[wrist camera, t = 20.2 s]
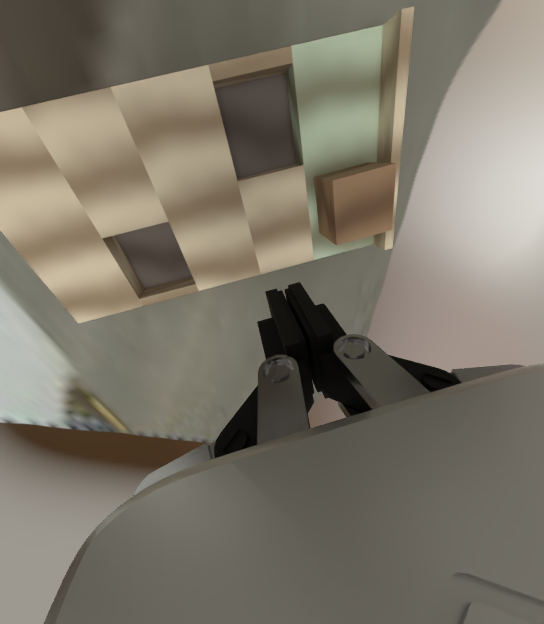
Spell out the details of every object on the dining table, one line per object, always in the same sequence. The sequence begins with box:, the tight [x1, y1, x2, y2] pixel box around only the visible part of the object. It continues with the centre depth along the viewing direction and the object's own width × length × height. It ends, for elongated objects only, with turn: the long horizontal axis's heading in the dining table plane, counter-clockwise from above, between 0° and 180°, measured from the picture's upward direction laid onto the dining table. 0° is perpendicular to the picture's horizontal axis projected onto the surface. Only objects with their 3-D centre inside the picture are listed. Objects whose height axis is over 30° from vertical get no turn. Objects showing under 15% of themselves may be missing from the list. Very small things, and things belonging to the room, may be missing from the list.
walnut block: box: [314, 162, 396, 246], centre depth 25 cm, size 6×6×5 cm
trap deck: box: [0, 7, 414, 323], centre depth 25 cm, size 19×39×6 cm, turn 102°
